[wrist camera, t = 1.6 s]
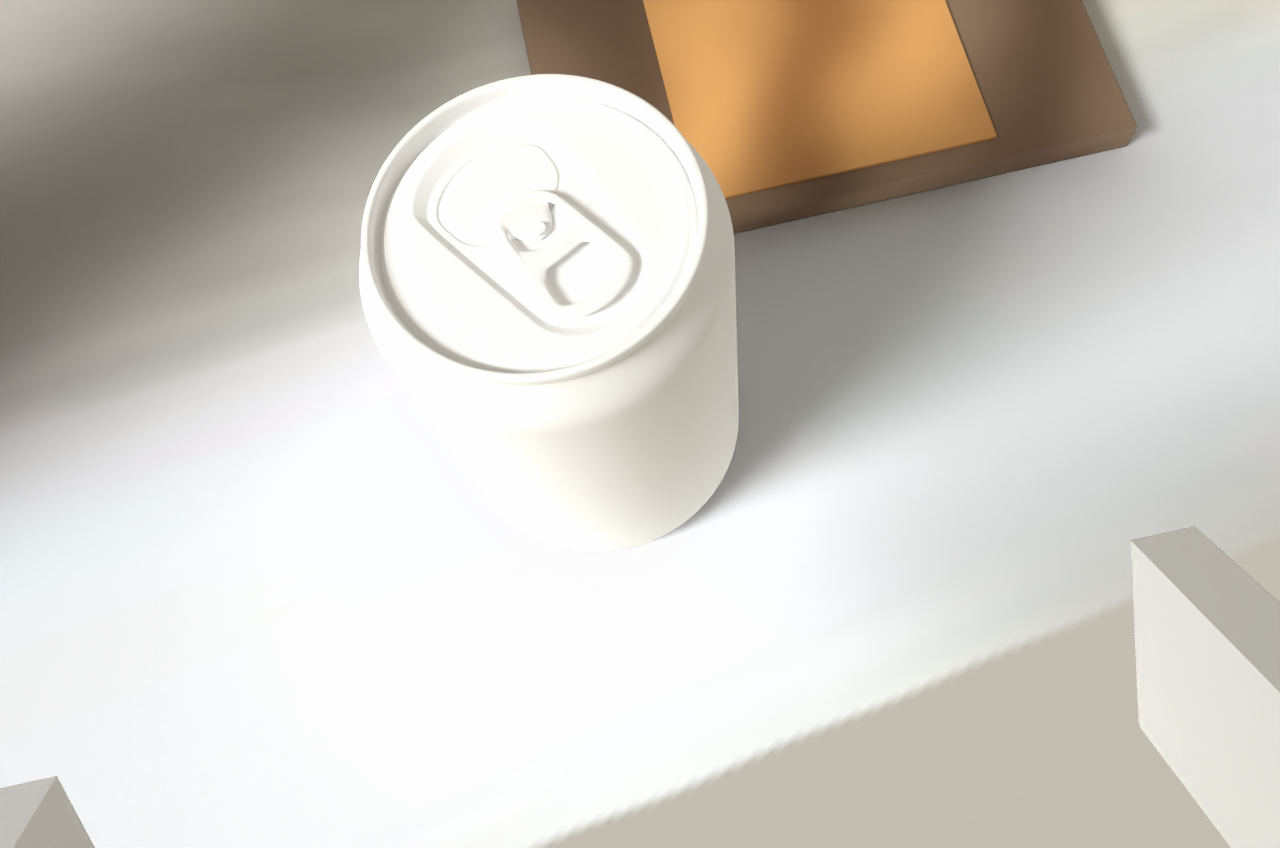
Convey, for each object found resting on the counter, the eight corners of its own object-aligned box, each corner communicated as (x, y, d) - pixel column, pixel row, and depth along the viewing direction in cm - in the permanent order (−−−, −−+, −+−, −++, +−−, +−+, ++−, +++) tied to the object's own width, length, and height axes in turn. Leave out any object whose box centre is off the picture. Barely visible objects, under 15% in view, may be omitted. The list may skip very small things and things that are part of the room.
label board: (572, 269, 36) (567, 252, 35) (518, 2, 40) (512, -20, 39) (1127, 145, 36) (1137, 125, 34) (1016, -111, 40) (1023, -136, 38)
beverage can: (621, 259, 36) (562, -9, 25) (795, 435, 33) (819, 224, 22) (420, 418, 34) (261, 212, 23) (585, 615, 32) (496, 489, 21)
